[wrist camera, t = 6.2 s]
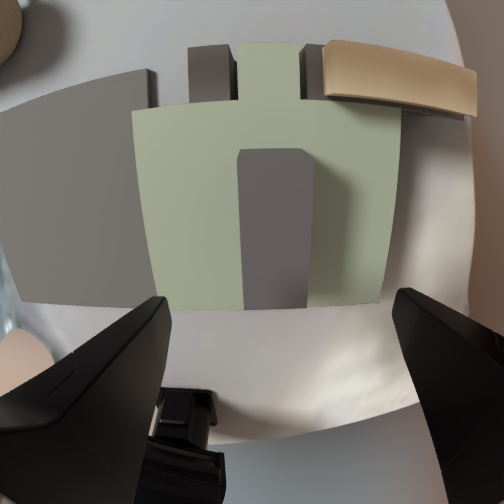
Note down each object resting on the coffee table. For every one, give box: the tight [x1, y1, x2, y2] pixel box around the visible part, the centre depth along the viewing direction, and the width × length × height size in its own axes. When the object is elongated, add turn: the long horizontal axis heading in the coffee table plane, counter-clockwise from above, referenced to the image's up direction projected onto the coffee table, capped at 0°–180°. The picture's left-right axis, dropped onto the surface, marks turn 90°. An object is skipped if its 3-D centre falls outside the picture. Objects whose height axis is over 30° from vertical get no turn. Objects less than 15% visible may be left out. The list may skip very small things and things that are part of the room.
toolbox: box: [188, 44, 464, 120], centre depth 18 cm, size 15×18×5 cm
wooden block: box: [322, 40, 477, 117], centre depth 12 cm, size 2×8×2 cm, turn 92°
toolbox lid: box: [132, 43, 401, 310], centre depth 14 cm, size 15×14×4 cm
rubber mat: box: [0, 69, 158, 308], centre depth 20 cm, size 18×17×1 cm
